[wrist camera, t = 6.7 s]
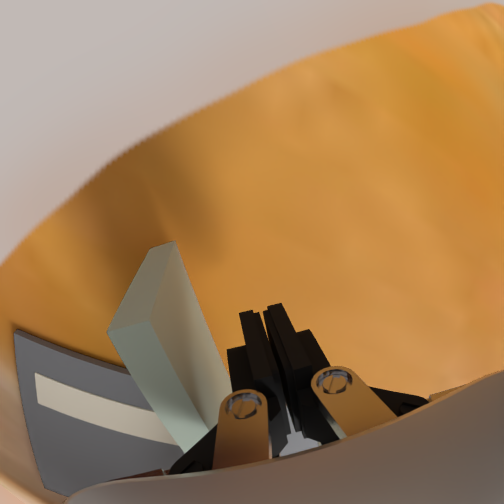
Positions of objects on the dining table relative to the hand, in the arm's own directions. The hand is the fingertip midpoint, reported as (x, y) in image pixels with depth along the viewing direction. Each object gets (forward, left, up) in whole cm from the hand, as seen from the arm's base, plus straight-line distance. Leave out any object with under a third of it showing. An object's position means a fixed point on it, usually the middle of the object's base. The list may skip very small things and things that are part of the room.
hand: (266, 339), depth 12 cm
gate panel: (-5, 0, -3) cm, 6 cm away
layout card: (-17, +2, -4) cm, 18 cm away
